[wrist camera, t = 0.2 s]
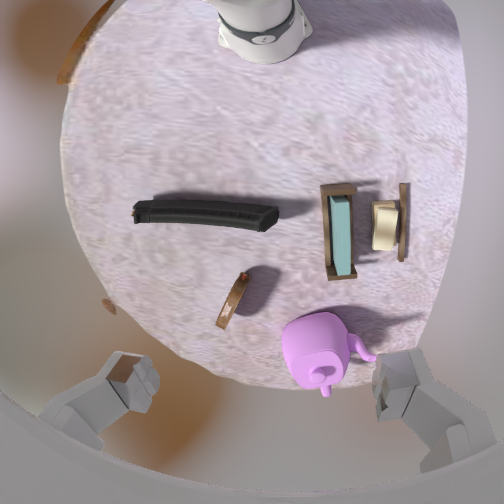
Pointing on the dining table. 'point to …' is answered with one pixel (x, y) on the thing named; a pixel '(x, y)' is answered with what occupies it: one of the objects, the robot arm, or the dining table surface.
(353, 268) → the rack
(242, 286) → the tin
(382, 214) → the offcut top
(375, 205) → the offcut middle
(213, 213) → the magazine
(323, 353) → the teapot
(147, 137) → the dining table surface
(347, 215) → the board
